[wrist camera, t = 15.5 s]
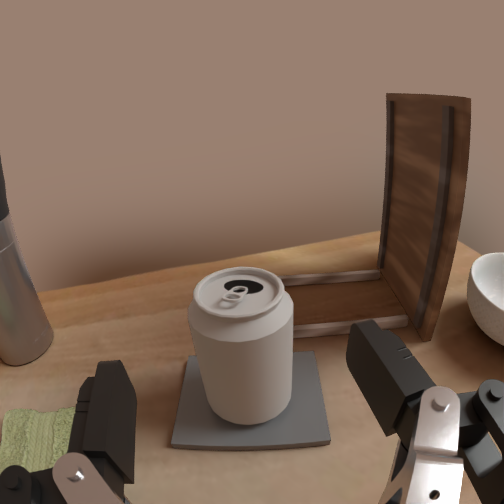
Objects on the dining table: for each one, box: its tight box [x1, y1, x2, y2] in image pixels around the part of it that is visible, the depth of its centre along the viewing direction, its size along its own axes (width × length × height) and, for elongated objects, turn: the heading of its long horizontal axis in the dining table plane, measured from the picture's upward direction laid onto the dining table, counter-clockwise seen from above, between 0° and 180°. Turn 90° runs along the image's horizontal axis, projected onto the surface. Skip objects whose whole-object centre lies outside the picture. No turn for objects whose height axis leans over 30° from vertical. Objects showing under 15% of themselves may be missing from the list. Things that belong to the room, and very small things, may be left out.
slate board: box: [171, 351, 331, 450], centre depth 28 cm, size 13×11×1 cm
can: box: [188, 267, 293, 425], centre depth 25 cm, size 8×8×12 cm
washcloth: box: [0, 407, 76, 474], centre depth 17 cm, size 13×18×3 cm
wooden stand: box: [277, 93, 471, 342], centre depth 35 cm, size 18×18×26 cm
